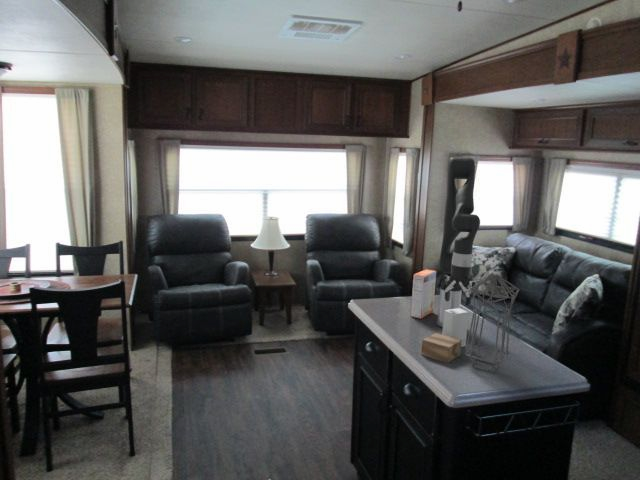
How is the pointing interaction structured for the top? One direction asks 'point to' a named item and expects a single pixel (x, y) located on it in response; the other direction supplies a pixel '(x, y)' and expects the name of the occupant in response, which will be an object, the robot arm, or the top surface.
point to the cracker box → (423, 293)
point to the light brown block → (441, 347)
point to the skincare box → (456, 324)
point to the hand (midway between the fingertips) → (457, 303)
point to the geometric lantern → (475, 292)
